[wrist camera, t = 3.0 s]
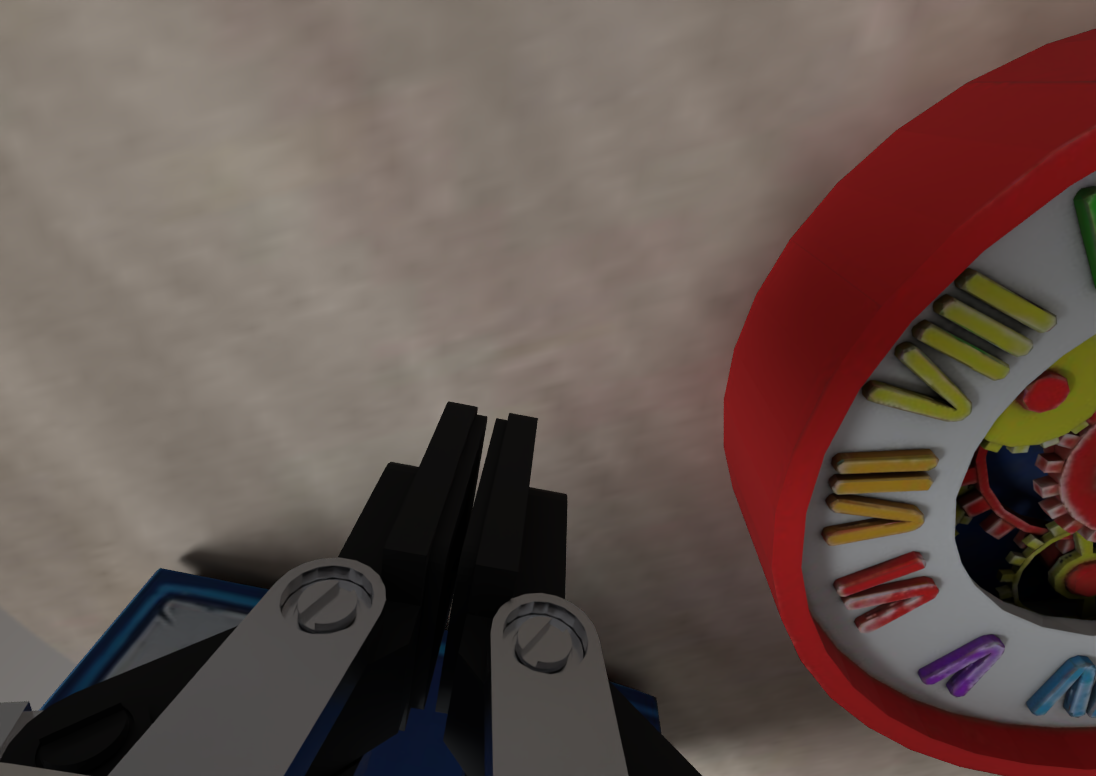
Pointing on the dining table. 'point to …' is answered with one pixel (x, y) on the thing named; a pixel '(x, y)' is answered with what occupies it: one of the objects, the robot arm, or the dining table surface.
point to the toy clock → (940, 426)
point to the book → (215, 606)
